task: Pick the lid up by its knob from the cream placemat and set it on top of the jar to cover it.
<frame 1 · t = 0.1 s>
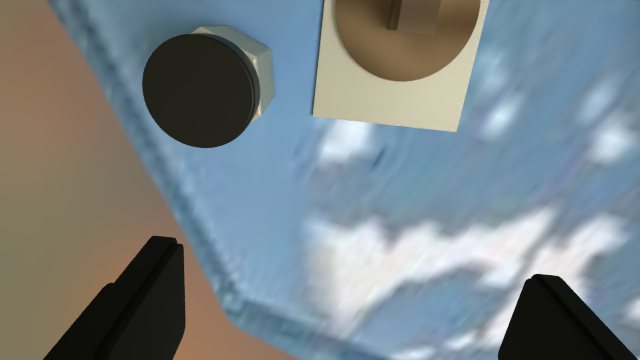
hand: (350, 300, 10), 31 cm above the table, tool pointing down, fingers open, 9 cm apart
jar: (235, 73, 39), on the table
placemat: (402, 20, 36), on the table
lid: (405, 8, 35), point 1 cm above the table, touching placemat
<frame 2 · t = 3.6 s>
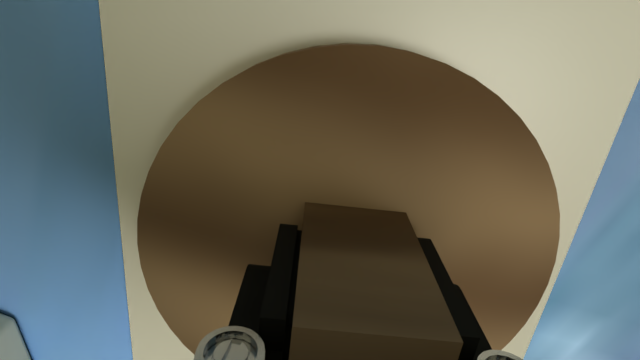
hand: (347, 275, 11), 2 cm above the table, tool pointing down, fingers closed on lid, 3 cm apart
placemat: (340, 261, 14), on the table
lid: (344, 247, 13), point 1 cm above the table, touching gripper, placemat
when the fingers open (15 cm above the table, at t = 9.8 s): lid drops 1 cm, resting on jar.
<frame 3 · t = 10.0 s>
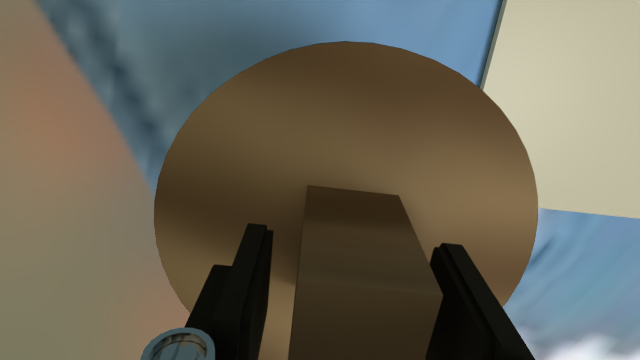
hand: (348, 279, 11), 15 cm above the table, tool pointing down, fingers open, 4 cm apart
placemat: (614, 56, 23), on the table
lid: (343, 228, 14), point 12 cm above the table, touching jar
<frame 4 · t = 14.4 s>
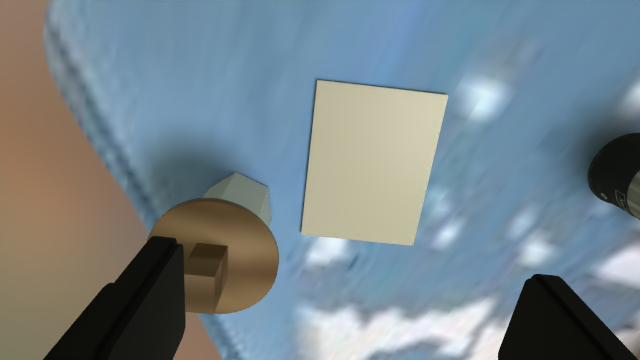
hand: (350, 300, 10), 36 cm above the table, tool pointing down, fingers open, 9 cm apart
jar: (240, 203, 50), on the table, touching lid
placemat: (368, 168, 48), on the table
lid: (214, 255, 39), point 12 cm above the table, touching jar
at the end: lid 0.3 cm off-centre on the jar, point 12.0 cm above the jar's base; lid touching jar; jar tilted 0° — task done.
